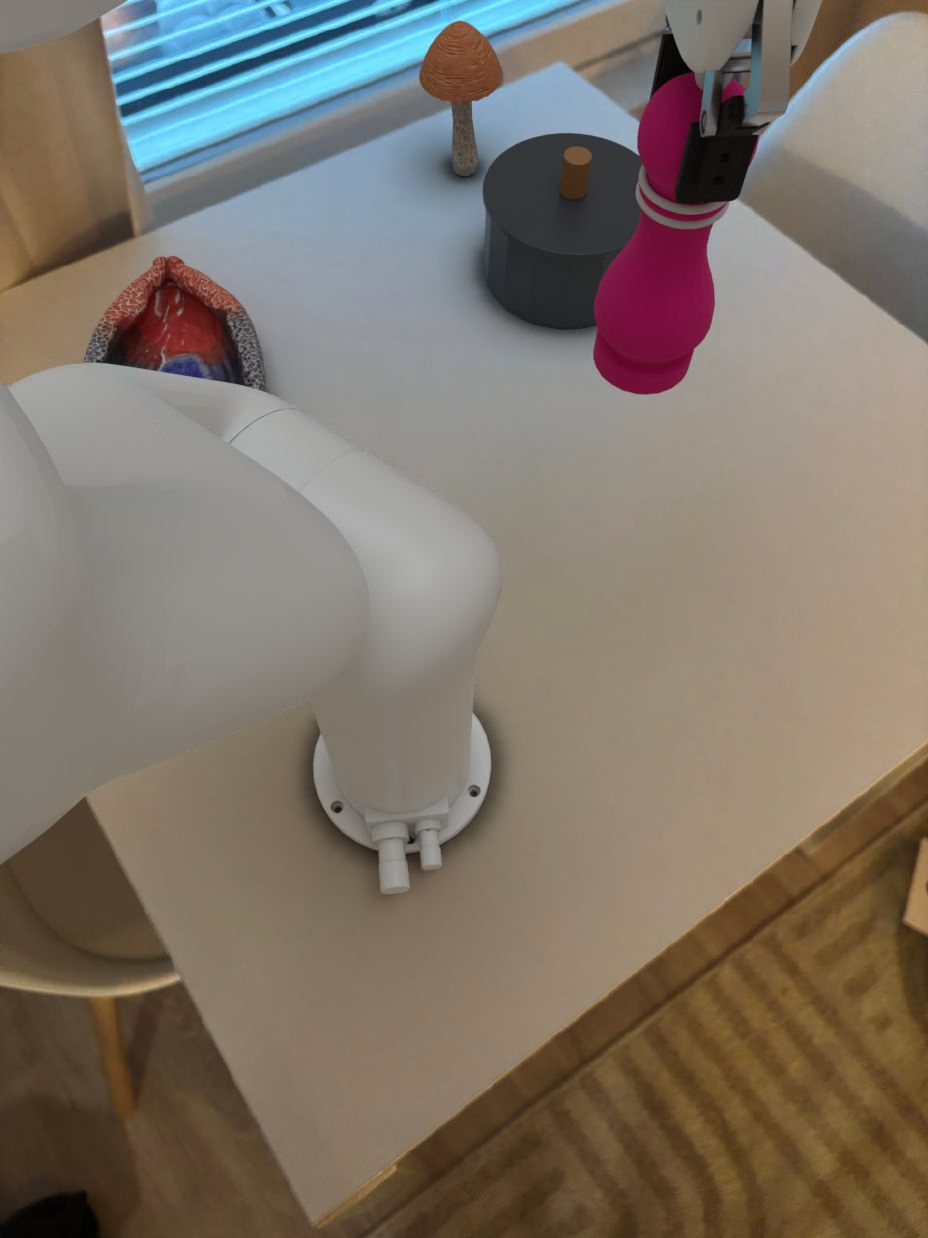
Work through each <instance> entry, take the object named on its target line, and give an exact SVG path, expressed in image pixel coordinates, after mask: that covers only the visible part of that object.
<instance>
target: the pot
mask: <svg viewBox="0 0 928 1238" xmlns="http://www.w3.org/2000/svg"><path fill="white" fill-rule="evenodd" d="M483 248H484V250H483V265H484V276H485V281H486V284H487V286H488V289H489V291H490V292H491V294H492V296H493V297H494V299H496V301H497V302H498V303H499V304H500V306H502V307H503V308H504V309H506V310H507V311H508V312H509V313H511V314H513V315H514V316H516V317H518V318H520V319H522V320H523V321H526V322H529V323H531V324H534V325H537V326H542V327H545V328H552V329H561V330H562V329H563V330H571V329H573V330H574V329H582V328H588V327H592V326H597V324H596V321H595V317H594V303H595V298H596V295H597V291H598V288H599V285H600V282H601V280H602V278H603V276H604V275H605V273H606V271H607V269H608V268H609V266H610V265H611V263H612V262H613V260H614V259H615V258H616V257H617V256H618V254H619V253H620V252H619V253H616V254H613V255H609V256H604V257H599V258H591V259H567V258H559V257H553V256H549V255H545V254H541V253H538V252H535V251H532V250H530V249H528V248H525V247H523V246H521V245H519V244H518V243H516V242H514V241H513V240H511V239H510V238H508V237H507V236H506V235H505V234H503V233H502V232H501V231H500V230H499V229H498V228H497V227H496V226H495V225H494V223H493V222H492V220H491V219H490V217H489V215H488V213H487V211H486V210H485V222H484V247H483Z"/></svg>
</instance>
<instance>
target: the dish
mask: <svg viewBox="0 0 928 1238" xmlns="http://www.w3.org/2000/svg"><path fill="white" fill-rule="evenodd" d="M259 339H260V338H259V336H258V333H257V330H256V328H255V325H254V323H253V320H252V318H251V317H250V315H249V313H248V311H247V310H246V308H245V307H244V306H243V304H242V303H241V302H240V301H239V300H238V299H237V298H236V296H235V295H233V294H232V293H231V292H229V290H227V289H226V288H224V287H222V286H221V285H220V284H218V283H217V282H215V281H214V280H213V279H212V278H210V277H209V275H206V274H205V273H204V272H202V271H200V270H198V269H196V268H193V267H191V266H189V265H187V264H185V261H184V260H183V259H182V258H180V257H178V256H177V255H170V256H167V257H166V256H163V255H162V256H157V257H155V258H154V259H153V260H152V266H151V267H150V268H149V269H147V270H146V271H145V272H143V274H140V275H139V276H138V277H137V278H135V279H134V280H133V281H132V282H131V283H129V285H127V286H126V287H125V288H124V289H122V291H121V292H120V293H119V295H118V296H116V298H115V299H114V300H113V301H112V303H111V304H110V305H109V307H108V308H107V310H105V312H104V313H103V314H102V316H101V317H100V319H99V321H98V323H97V324H96V326H95V327H94V330H93V332H92V335H91V337H90V339H89V342H88V344H87V347H86V350H85V355H84V358H83V362H82V363H106V364H113V365H120V366H128V367H134V368H140V369H146V370H153V371H159V372H165V373H171V374H177V375H184V376H190V377H196V378H202V379H208V380H214V381H221V382H227V383H232V384H238V385H242V386H247V387H251V388H254V389H257V390H261V391H264V392H266V393H267V382H266V381H267V379H266V371H265V363H264V357H263V353H262V352H263V351H262V348H261V344H260V340H259Z"/></svg>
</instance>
